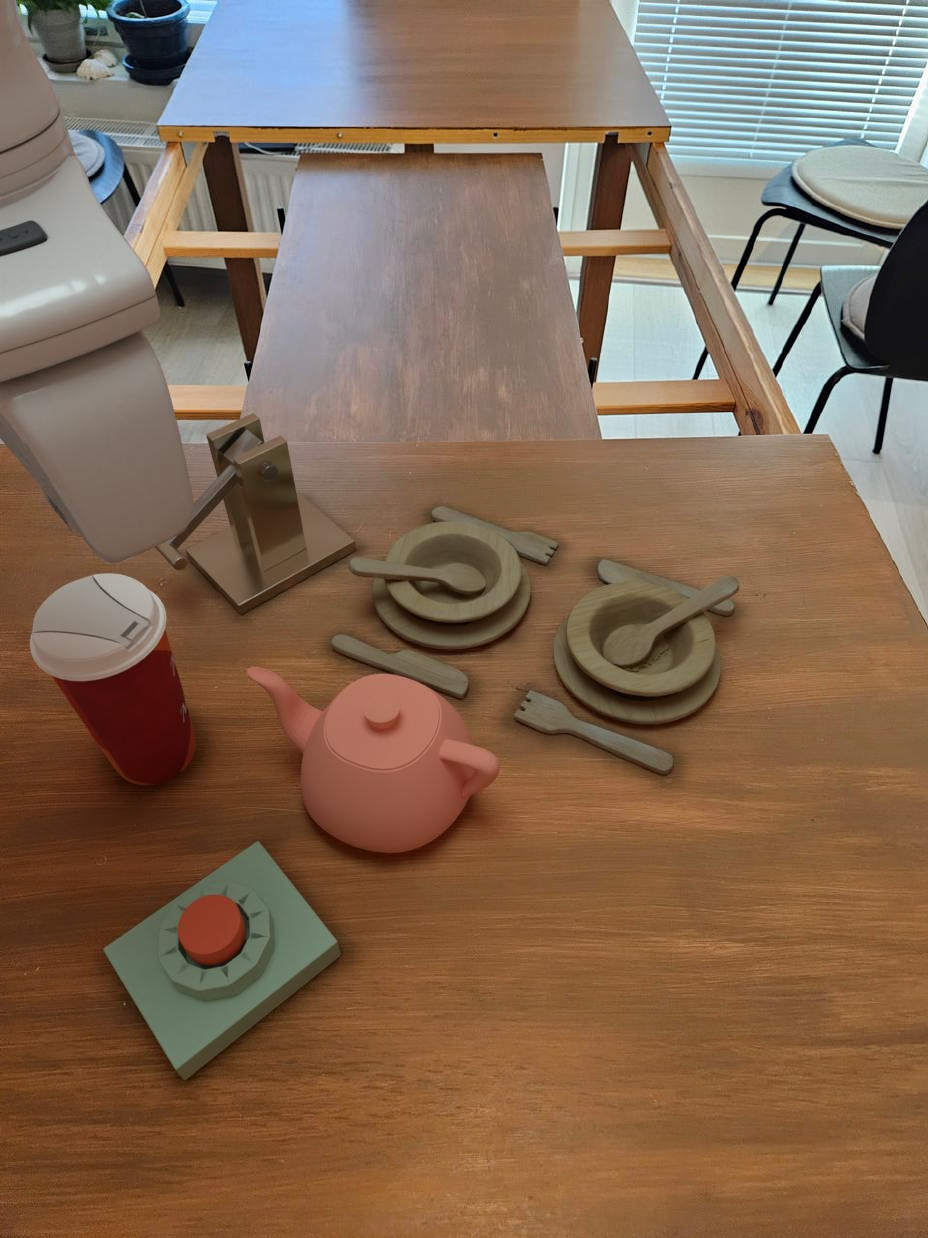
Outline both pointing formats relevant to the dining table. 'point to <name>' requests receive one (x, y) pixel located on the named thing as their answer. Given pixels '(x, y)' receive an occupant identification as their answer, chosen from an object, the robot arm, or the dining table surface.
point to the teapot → (382, 760)
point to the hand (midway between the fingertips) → (82, 516)
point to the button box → (234, 990)
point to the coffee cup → (118, 673)
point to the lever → (209, 500)
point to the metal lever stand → (264, 524)
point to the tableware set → (584, 643)
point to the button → (212, 930)
